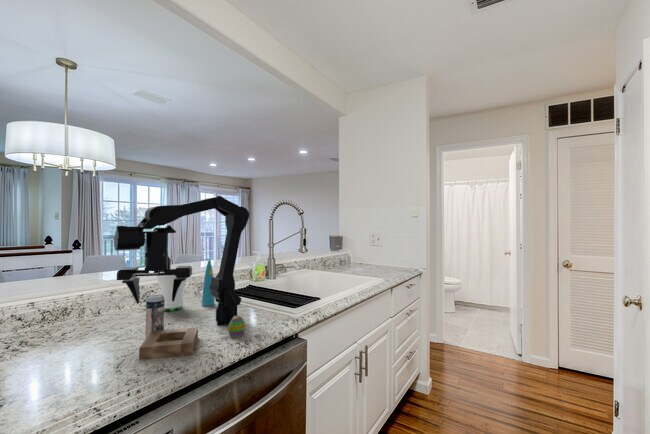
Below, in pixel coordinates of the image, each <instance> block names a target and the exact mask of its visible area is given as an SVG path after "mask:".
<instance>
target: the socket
mask: <svg viewBox="0 0 650 434" xmlns="http://www.w3.org/2000/svg"><path fill="white" fill-rule="evenodd" d="M198 338H199V327H185V328H172V329H164V330H157V331H152V332H151V333H150V334H149V336H148V337H147V338H145V339H144V341H143V342H142V344H141V345H140V346H139V348H138V349H139V350H138V351H139V352H138V353H139V354H138V360H139V361H143V360H152V359H153V360H154V359H164V358H165V359H166V358H172V357H173V358H175V357H182V356H183V357H184V356H193V353H194V350H195V348H196V345H197V341H198Z"/></svg>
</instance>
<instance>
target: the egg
mask: <svg viewBox="0 0 650 434" xmlns="http://www.w3.org/2000/svg"><path fill="white" fill-rule="evenodd" d="M227 331H228V334H229V336H230V337H231V338H234V339H235V338H236V339H237V338H241V337H243V336H244V334H245V332H246V322H245V320H244V318H243V317H242V316H241V315H239V314H237V316H234V317H233V318H232V319H231V321H230V323H229V324H228V330H227Z"/></svg>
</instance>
